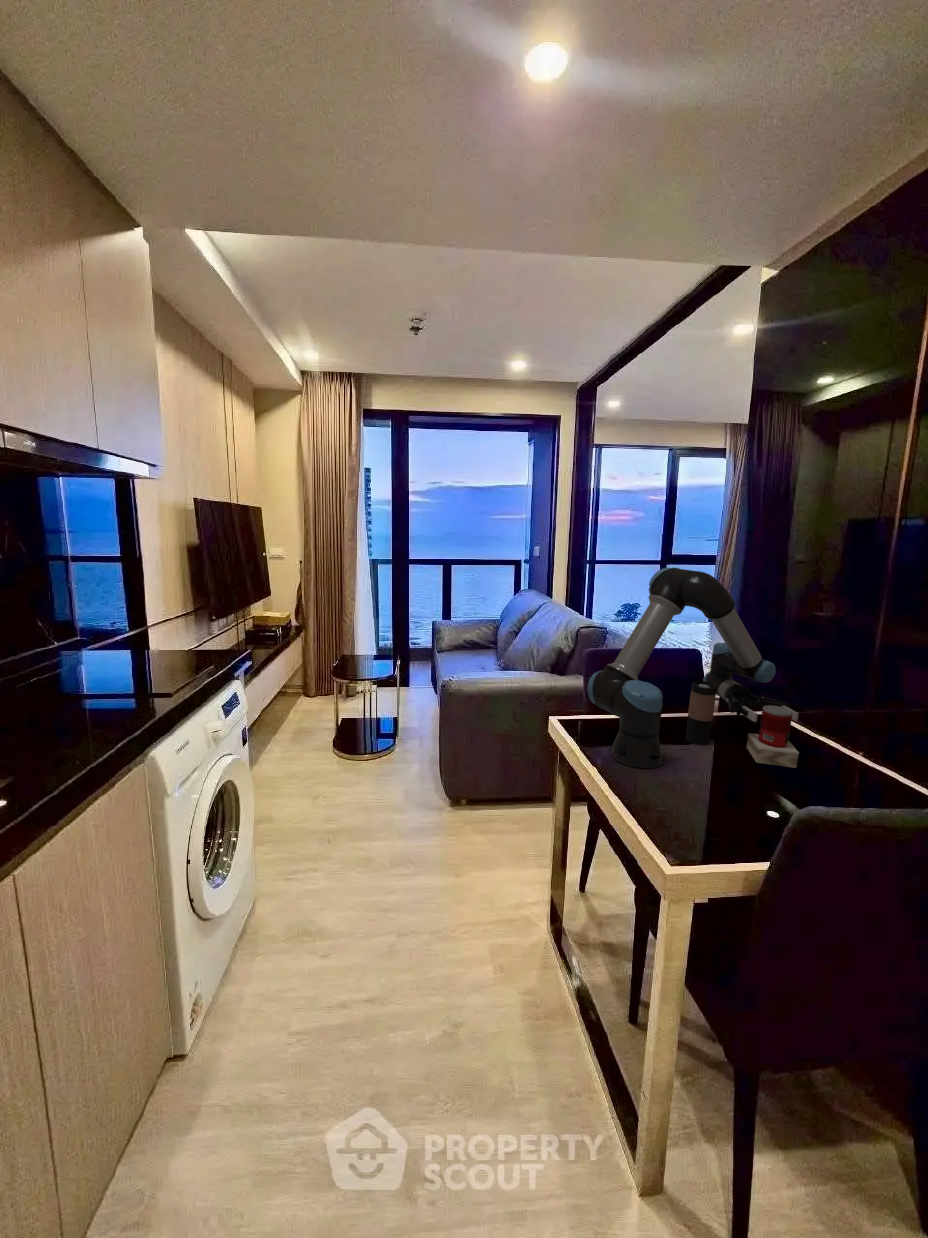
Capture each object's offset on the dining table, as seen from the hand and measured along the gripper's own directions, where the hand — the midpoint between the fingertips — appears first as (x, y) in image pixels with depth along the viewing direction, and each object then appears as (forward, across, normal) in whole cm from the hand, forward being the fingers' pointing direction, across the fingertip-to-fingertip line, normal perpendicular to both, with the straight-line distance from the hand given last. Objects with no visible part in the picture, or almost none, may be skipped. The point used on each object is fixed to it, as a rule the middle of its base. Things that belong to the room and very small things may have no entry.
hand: (776, 717), depth 157 cm
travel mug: (-12, +18, -13) cm, 25 cm away
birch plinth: (0, 0, -13) cm, 13 cm away
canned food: (0, 0, -8) cm, 8 cm away
